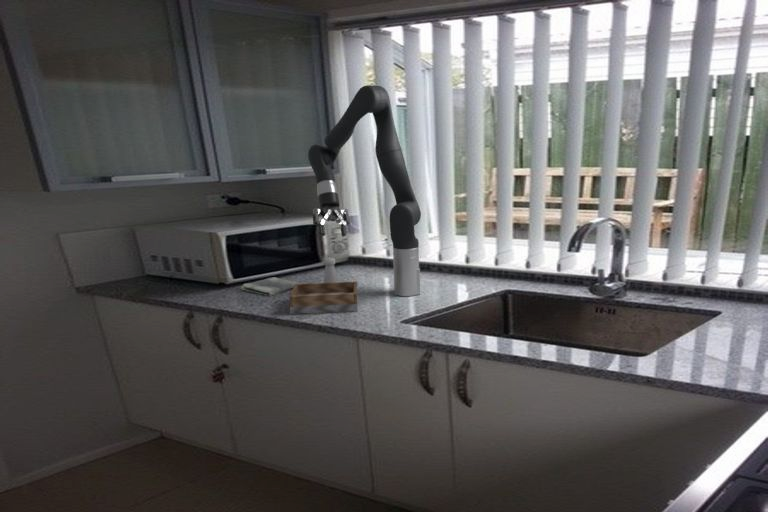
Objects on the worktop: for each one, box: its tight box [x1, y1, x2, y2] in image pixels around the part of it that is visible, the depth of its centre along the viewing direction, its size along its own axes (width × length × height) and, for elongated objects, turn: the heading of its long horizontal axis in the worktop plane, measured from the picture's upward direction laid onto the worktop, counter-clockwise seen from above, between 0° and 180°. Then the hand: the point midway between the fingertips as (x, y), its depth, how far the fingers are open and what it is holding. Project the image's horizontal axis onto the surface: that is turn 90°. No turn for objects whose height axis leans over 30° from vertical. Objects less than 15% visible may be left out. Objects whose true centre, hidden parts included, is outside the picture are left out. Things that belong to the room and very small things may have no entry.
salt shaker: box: [322, 257, 339, 283], centre depth 195 cm, size 6×6×13 cm
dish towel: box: [240, 276, 303, 297], centre depth 205 cm, size 19×18×3 cm
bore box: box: [288, 281, 359, 315], centre depth 179 cm, size 22×16×6 cm
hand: (334, 235), depth 193 cm, fingers open, 8 cm apart
